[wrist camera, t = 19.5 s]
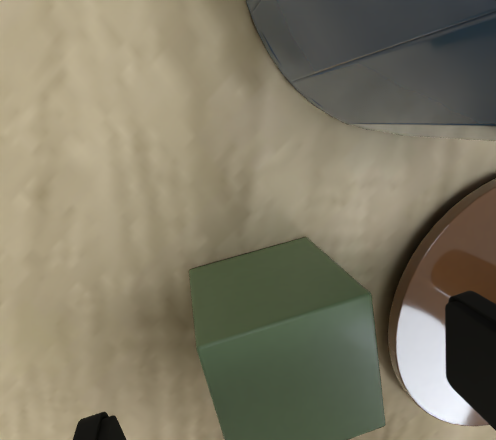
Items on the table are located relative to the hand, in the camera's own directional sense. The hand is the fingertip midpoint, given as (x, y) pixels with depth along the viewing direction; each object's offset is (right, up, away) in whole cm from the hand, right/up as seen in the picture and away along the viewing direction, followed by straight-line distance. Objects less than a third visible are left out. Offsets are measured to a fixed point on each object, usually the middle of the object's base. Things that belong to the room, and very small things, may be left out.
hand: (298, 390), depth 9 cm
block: (-1, +1, +5) cm, 6 cm away
